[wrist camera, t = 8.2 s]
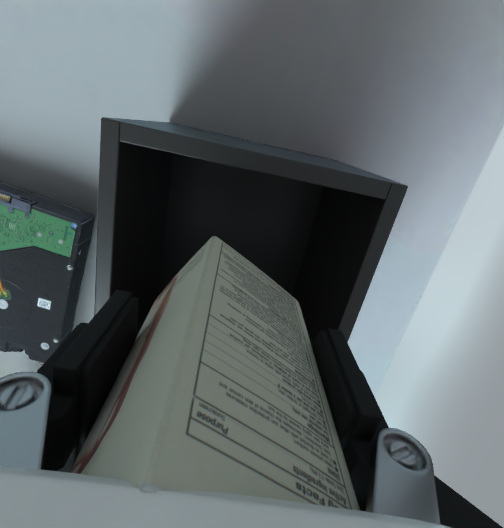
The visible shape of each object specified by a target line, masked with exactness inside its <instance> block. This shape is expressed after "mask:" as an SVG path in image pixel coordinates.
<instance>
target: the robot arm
mask: <svg viewBox="0 0 504 528" xmlns="http://www.w3.org/2000/svg"><path fill="white" fill-rule="evenodd" d="M138 305H139V299H138V298H135V297H134V294H133V293H131V292H125V291H120V290H116V291H115V292H114V293H113V295H112V296H111V297H110V298H109V299H108V301H107V302H106V303H105V304H104V305H103V307H102V308H101V309H100V310H99V311H98V313H97V314H96V315H95V316H94V317H93V319H92V320H91V321H90V322H89V323H80V324H79V325H78V326H77V327H76V328H75V329H74V330H73V331H72V332H71V333H70V335H69V336H68V337H67V338H66V339H65V340H64V341H63V343H62V344H61V345H60V346H59V347H58V348H57V349H56V351H55V352H54V353H53V354H52V355H51V356H50V357H49V358H48V360H47V361H46V362H45V363H44V364H43V365H42V366H41V368H40V369H39V370H38V371H37V372H36V373H35V372H19V373H14V374H10V375H7V376H4V377H2V378H0V528H503V527H501V526H500V525H499V524H497V523H496V522H494V521H493V520H492V519H491V518H489V517H488V516H487V515H486V514H484V513H483V512H482V511H480V510H479V509H478V508H476V507H475V506H474V505H472V504H471V503H470V502H469V501H467V500H466V499H465V498H463V497H462V496H461V495H459V494H458V493H456V492H455V491H454V490H453V489H451V488H450V487H449V486H447V485H446V484H445V483H444V482H442V481H441V480H439V479H438V478H437V477H436V476H434V470H433V463H432V460H431V457H430V455H429V453H428V452H427V450H426V449H425V448H424V446H423V445H422V444H421V443H420V442H419V441H418V440H416V439H415V438H414V437H413V436H411V435H410V434H408V433H406V432H404V431H401V430H399V429H394V428H389V427H388V425H387V423H386V421H385V419H384V417H383V415H382V412H381V410H380V408H379V406H378V404H377V402H376V400H375V398H374V395H373V393H372V391H371V389H370V387H369V385H368V383H367V381H366V378H365V376H364V374H363V373H362V371H361V370H360V369H359V367H358V365H357V363H356V361H355V359H354V356H353V354H352V352H351V350H350V348H349V346H348V343H347V341H346V339H345V337H344V335H343V333H342V331H341V330H336V329H330V328H325V329H324V331H319V332H318V335H317V338H316V341H315V343H314V346H313V353H314V356H315V360H316V363H317V367H318V370H319V373H320V377H321V380H322V383H323V386H324V390H325V393H326V397H327V400H328V403H329V406H330V410H331V414H332V417H333V421H334V424H335V427H336V431H337V434H338V437H339V440H340V444H341V448H342V451H343V454H344V458H345V461H346V464H347V468H348V471H349V475H350V478H351V481H352V485H353V488H354V492H355V495H356V498H357V501H358V504H359V507H360V510H361V511H358V510H351V509H344V508H336V507H329V506H322V505H315V504H307V503H300V502H293V501H286V500H278V499H271V498H263V497H256V496H248V495H241V494H233V493H226V492H216V491H157V492H155V493H153V492H151V493H149V492H142V491H140V490H139V488H138V487H136V486H135V485H133V484H132V483H130V482H128V481H127V480H124V479H116V478H108V477H100V476H92V475H84V474H76V473H68V472H59V471H58V470H60V469H61V468H63V467H71V468H72V467H73V465H74V463H75V461H76V459H77V457H78V455H79V453H80V451H81V449H82V446H83V444H84V443H85V441H86V439H87V437H88V435H89V433H90V431H91V428H92V426H93V424H94V422H95V420H96V418H97V416H98V414H99V412H100V410H101V408H102V406H103V404H104V402H105V400H106V398H107V396H108V394H109V392H110V390H111V388H112V386H113V384H114V382H115V380H116V378H117V376H118V374H119V372H120V370H121V368H122V366H123V364H124V362H125V360H126V358H127V356H128V354H129V352H130V350H131V348H132V346H133V344H134V342H135V337H136V326H137V315H138Z"/></svg>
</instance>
